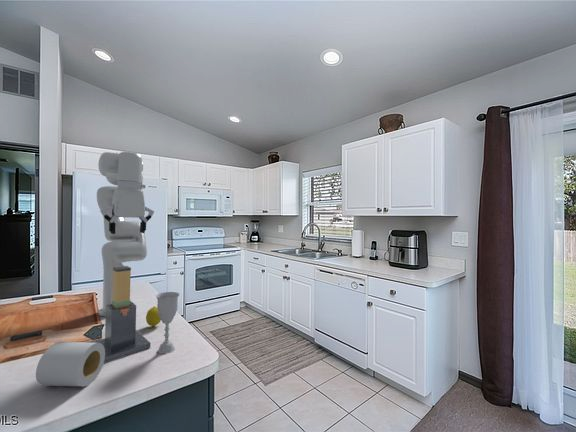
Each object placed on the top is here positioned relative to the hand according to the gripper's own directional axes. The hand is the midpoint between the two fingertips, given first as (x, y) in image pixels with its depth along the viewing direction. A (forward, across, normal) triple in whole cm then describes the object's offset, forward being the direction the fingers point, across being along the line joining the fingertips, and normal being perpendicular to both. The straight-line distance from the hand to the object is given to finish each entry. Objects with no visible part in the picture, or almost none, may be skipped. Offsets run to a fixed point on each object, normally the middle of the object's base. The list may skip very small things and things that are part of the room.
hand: (128, 233), depth 98 cm
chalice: (+37, -6, +23) cm, 44 cm away
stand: (+37, +4, +11) cm, 39 cm away
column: (+29, +4, +11) cm, 32 cm away
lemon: (+37, -9, +2) cm, 39 cm away
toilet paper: (+36, +18, +23) cm, 47 cm away
